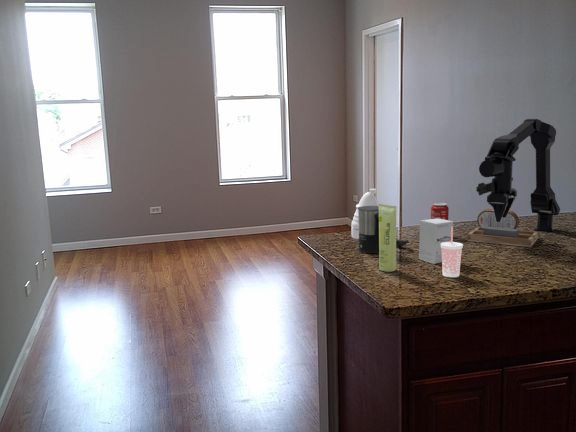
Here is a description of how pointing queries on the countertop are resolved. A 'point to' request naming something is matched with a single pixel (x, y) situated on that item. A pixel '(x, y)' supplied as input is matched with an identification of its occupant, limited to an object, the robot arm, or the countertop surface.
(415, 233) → the countertop surface
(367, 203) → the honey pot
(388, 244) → the tube
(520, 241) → the divided wooden tray
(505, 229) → the bar
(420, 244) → the supplement box
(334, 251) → the countertop surface
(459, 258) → the beverage cup
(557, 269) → the countertop surface
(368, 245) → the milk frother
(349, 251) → the countertop surface
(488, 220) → the tin
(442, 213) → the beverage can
